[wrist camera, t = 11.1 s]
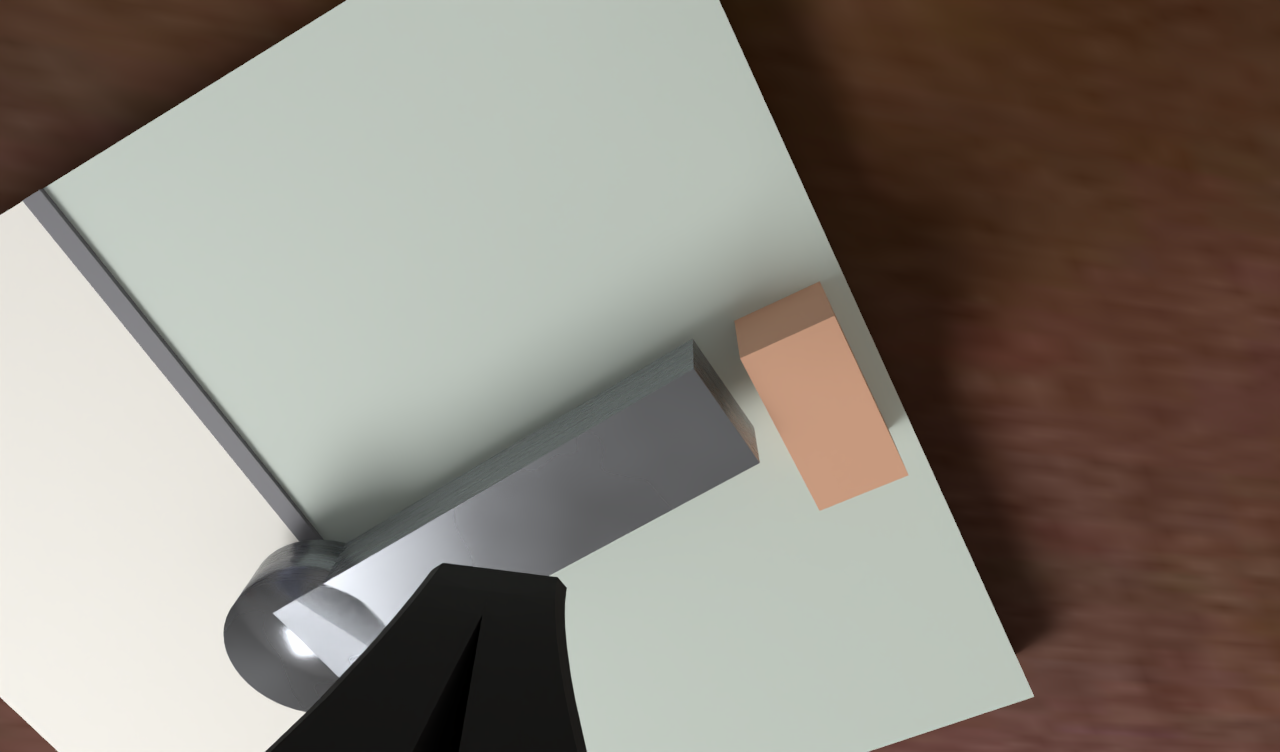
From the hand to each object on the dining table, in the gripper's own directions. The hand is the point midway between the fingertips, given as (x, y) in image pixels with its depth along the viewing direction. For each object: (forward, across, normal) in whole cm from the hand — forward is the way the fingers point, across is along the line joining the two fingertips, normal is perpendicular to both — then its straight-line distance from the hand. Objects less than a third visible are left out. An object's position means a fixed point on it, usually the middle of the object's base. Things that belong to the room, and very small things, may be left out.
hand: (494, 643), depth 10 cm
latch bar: (+6, +1, +3) cm, 7 cm away
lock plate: (+8, +3, +5) cm, 10 cm away
